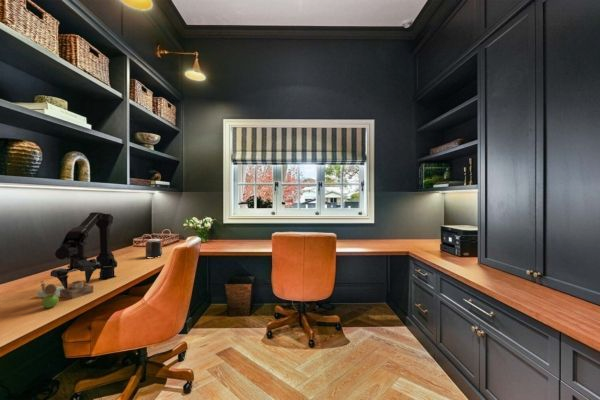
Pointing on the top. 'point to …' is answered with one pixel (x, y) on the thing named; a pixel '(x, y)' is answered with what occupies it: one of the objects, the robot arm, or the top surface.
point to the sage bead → (41, 294)
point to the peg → (77, 285)
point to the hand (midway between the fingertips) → (77, 285)
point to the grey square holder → (76, 292)
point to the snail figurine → (49, 295)
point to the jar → (153, 248)
